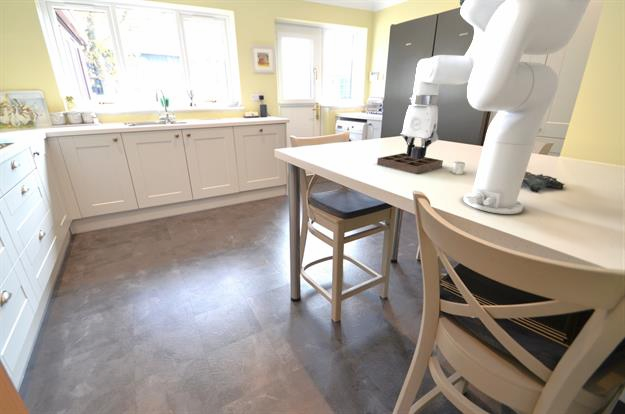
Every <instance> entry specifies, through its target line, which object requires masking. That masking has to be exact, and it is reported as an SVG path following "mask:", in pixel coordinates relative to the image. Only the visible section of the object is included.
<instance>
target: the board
mask: <svg viewBox="0 0 625 414" xmlns="http://www.w3.org/2000/svg"><path fill="white" fill-rule="evenodd" d="M443 163H444V160H443V159H437V158H433V157H426V156H425V157H424V158H423V159H414V158H410V157H407V152H402V153H397V154H392V155H387V156H386V155H385V156H381V157H377V161H376V165H377V166H380V167H381V166H382V167H386V168H390V169H393V170H397V171H402V172H407V173H410V174H415V175H419V174H422V173H425V172H429V171H433V170H436V169H439V168H440V169H441V168H442V167H443Z"/></svg>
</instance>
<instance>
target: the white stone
mask: <svg viewBox="0 0 625 414" xmlns="http://www.w3.org/2000/svg"><path fill="white" fill-rule="evenodd" d="M465 166H466V162H464V161H453V164H452V169H451V173H452V174H454V175H455V174H456V175H463V174H464V172H465V171H464V170H465V168H466V167H465Z"/></svg>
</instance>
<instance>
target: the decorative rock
mask: <svg viewBox="0 0 625 414" xmlns="http://www.w3.org/2000/svg"><path fill="white" fill-rule="evenodd" d="M522 183H525V184H527V186H528V188H529V189H530V191H531V192H532V193H539V192H540V191H541V190H542V189H543V188H549V186H557V187H559V189H560V190H563V189H564V185H565V183H563V182H561V181H558V179H557V178H555V177H552V176H550V175H543V174H542V173H541V174H534V173H532V172H529V171H526V173H525V176H524V179H523V182H522Z"/></svg>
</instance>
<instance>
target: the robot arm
mask: <svg viewBox="0 0 625 414" xmlns="http://www.w3.org/2000/svg"><path fill="white" fill-rule="evenodd" d="M590 2H591V0H464V2H463V3H462V5H461V6H460V11H459V12H460V16H461V17H462V18H463V20H464V21H465V22H467V23H468V24H469V25H471V26H472V27H473V31H474V33H473V39H472V41H471V43H470V46H469V47H468V49H467V51H466V52H465V54H464V55H456V54H450V55H449V54H436V55H433V56H431V57H424V58H421V59H420V60H419V61H418V62H417V67H416V73H415V80H414V85H413V95H412V96H410V97H409V99H408V100H409V102H411V104H410V105H408V106H407V107H408V109H407V110H406V114H405V117H404V122H403V127H402V131H401V132H400V136H401V137H402V138H403V139H404V141H405V142H406V145H407V148H406V154H407V157H410V154H411V147H412V146H416V144H415V141H416V138H417V139H420V141H421V142H420V146H419V147H420V148H419V153H418V159H423V158H424V157H426V154H427V148H428V147H429V146H431V144H433V143H435V142H437V141H439V135H438V133H437V129H438V121H439V106H437V103H438V98H439V97H438V96H439V92H440V86H441V85H464V84H467V83H468V84H467V90H466V92H467V93H466V98H467V100H468V104H469V105H470V106H471V108H473V109H475V110H476V111H480V112H496V115H495V116H494V118H493V119H492V120H491V122H490V124H489V125H488V128H487V131H486V134H485V139H484V142H483V146H482V152H481V155H480V159H479V163H478V167H477V171H476V174H475V181H474V183H473V188H472V191H471V192H467V193H465V195H464V196H463V201H464V203H465V204H466V205H468V206H470V207H471V208H474V209H477V210H481V211H484V212H488V213H491V214H492V213H493V214H500V215H515V214H519V213H521V212H523V209H524V205H523V203H521V202H520V201H519V200H518V199H519V195H520V192H521V189H522V185H523V183H524V182H523V179H524V176H525V173H526V172H527V169H528V167H529V162H530V160H531V156H532V153H533V150H534V148H535V147H534V146H535V144H536V140H537V137H538V135H539V131H540V128H541V125H542V123H543V121H544V118H545V116H546V114H547V112H548V110H549V108H550V106H551V105H552V102H553V100H554V99H555V96H556V94H557V91H558V88H559V76H558V74H557V72H556V71H555V69H553V68H552V67H551V66H549V65H547V64H544V63H542V62H541V63H540V62H532V61H531V62H530V61H529V62H528V61H521V59H522V56H523V55H530V56H547V55H551V54H556V53H557V52H559V51H561V50H562V49H564V48H565V47H566V46H567V45H568V44H569V43H570V41H571V40H572V38H573V37H574V35H575V33H576V31H577V29H578V27H579V25H580V23H581V21H582V19H583V16H584V15H585V13H586V11H587V8H588V6H589V4H590Z"/></svg>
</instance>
